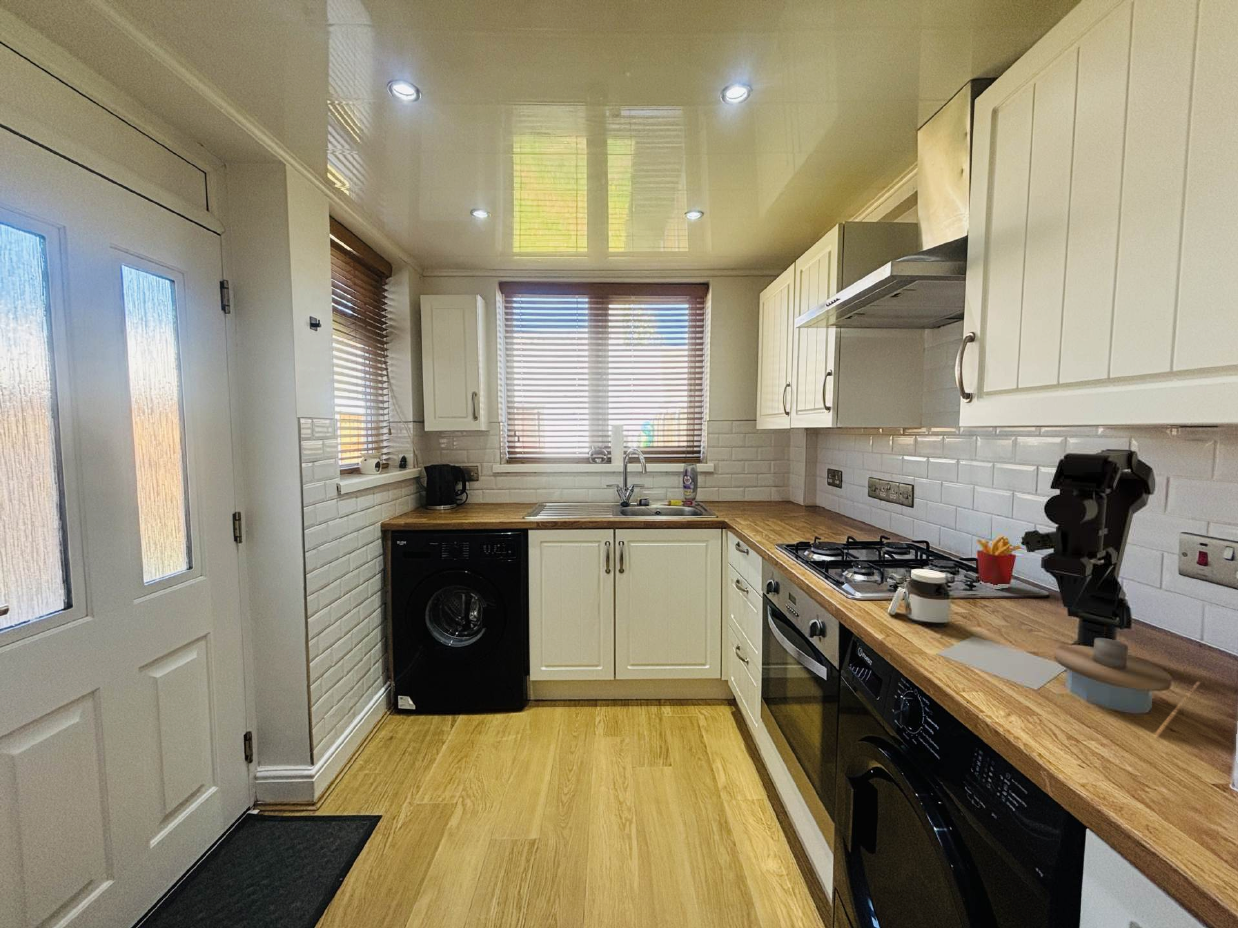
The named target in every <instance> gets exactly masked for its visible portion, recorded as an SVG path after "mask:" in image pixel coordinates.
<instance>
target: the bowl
mask: <svg viewBox="0 0 1238 928" xmlns="http://www.w3.org/2000/svg"><path fill="white" fill-rule="evenodd" d="M1065 673H1066V674H1065V687H1066V688H1067V690H1068V691H1069V692H1070V693H1072V694H1074V695H1075V696H1077V697H1078V698H1081V699H1082V700H1083V701H1086V702H1088V703H1092V704H1094V705H1097V706H1100V707H1103V708H1105V709H1109V710H1113V711H1119V712H1123V713H1128V714H1147V713H1148V712H1150V710H1151V709H1152V707H1153V697H1154V691H1142V690H1135V689H1128V688H1123V687H1119V686H1114V685H1110V684H1107V683H1103V682H1100V681H1096V680H1093V679H1090V678H1087V677H1085V676H1082V675H1080V674H1077V673H1075V672H1073V671H1071V670H1069V669H1066V671H1065Z"/></svg>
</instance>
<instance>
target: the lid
mask: <svg viewBox="0 0 1238 928" xmlns="http://www.w3.org/2000/svg"><path fill="white" fill-rule="evenodd" d="M1128 652H1129V645H1128V644H1125V643H1123V642H1121V641H1118V640H1116V641H1115V640H1111V639H1106V638H1095V640H1094V647H1089V646H1081V645H1070V644H1064V645H1059V646H1056V647H1055V648H1054V649H1053V660H1055V662H1057V663H1059V664H1060V665H1062V666H1063V667H1065V668H1067V669H1069V670H1071V671H1073V672H1075V673H1077V674H1080V675H1082V676H1085V677H1087V678H1090V679H1093V680H1096V681H1100V682H1103V683H1107V684H1110V685H1114V686H1119V687H1123V688H1128V689H1135V690H1142V691H1153V692H1163V691H1167V690H1169V689H1171V687H1172V677H1171V675H1170V674H1169V673H1168V672H1167V671H1165V670H1164V669H1162V668H1161V667H1159V666H1157V665H1155V664H1153V663H1151V662H1148V661H1146V660H1143V659H1140V658H1137V657H1135V656H1132V655H1129V654H1128ZM1067 669H1066V670H1067Z"/></svg>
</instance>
